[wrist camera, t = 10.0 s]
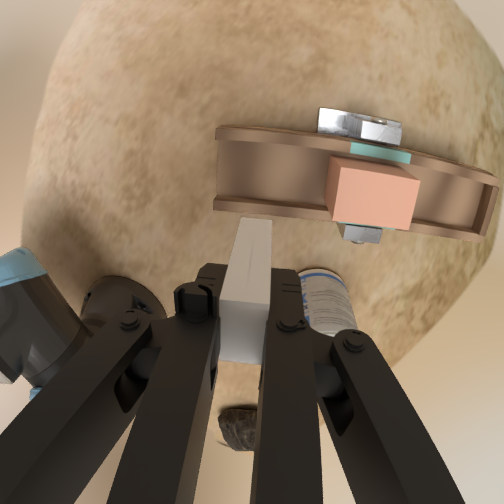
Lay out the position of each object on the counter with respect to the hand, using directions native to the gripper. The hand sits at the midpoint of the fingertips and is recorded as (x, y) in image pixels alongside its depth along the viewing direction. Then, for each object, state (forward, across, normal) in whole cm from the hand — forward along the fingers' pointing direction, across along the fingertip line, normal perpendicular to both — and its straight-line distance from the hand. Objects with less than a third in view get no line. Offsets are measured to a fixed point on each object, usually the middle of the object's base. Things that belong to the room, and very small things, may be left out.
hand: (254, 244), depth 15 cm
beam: (+21, +11, 0) cm, 24 cm away
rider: (+15, +10, 0) cm, 18 cm away
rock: (+23, +1, -53) cm, 58 cm away
